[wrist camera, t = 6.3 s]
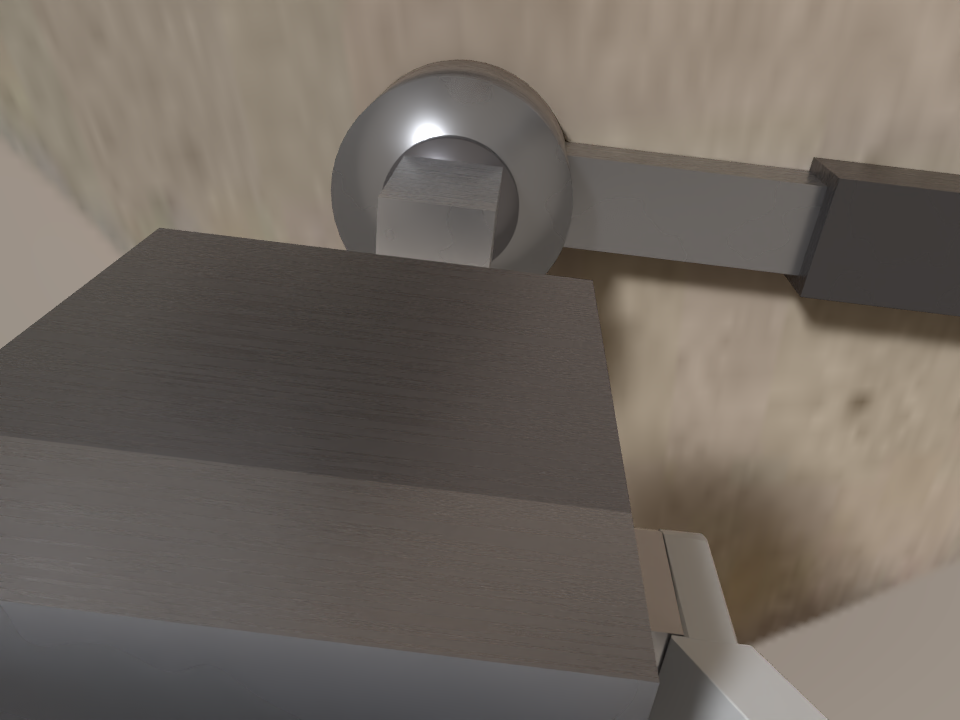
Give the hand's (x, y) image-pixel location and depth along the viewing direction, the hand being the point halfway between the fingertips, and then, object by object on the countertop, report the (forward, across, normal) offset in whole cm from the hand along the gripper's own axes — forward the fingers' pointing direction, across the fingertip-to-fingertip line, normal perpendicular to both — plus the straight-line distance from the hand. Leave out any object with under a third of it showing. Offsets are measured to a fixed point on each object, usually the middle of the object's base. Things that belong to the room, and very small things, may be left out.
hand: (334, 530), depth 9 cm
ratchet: (+16, -8, 0) cm, 18 cm away
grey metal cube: (+2, 0, 0) cm, 2 cm away
